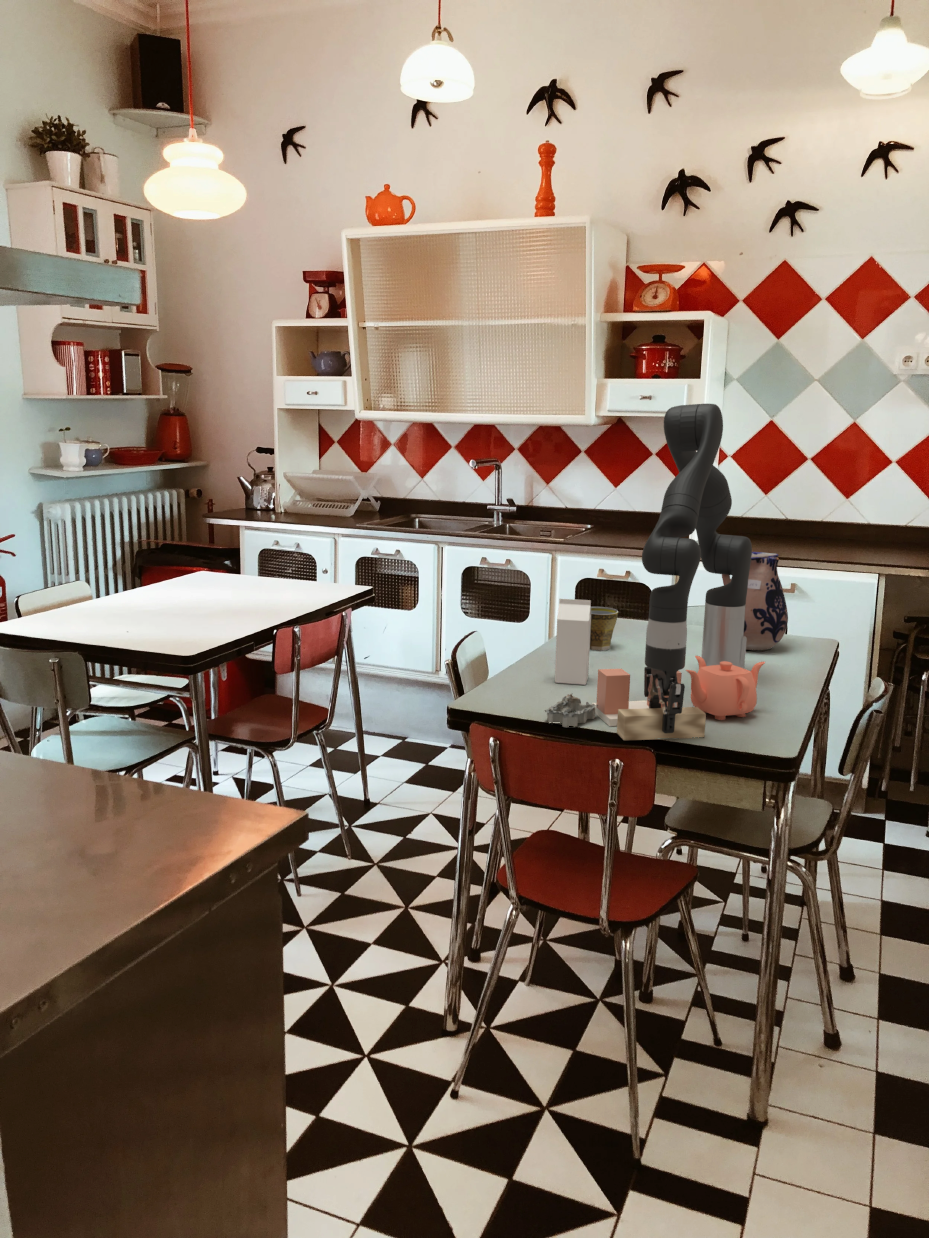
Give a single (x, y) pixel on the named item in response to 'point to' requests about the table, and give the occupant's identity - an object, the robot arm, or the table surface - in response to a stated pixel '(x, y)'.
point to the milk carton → (573, 641)
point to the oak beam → (659, 724)
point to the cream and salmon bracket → (616, 695)
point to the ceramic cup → (602, 627)
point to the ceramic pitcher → (763, 603)
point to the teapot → (724, 688)
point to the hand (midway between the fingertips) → (660, 726)
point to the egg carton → (570, 711)
